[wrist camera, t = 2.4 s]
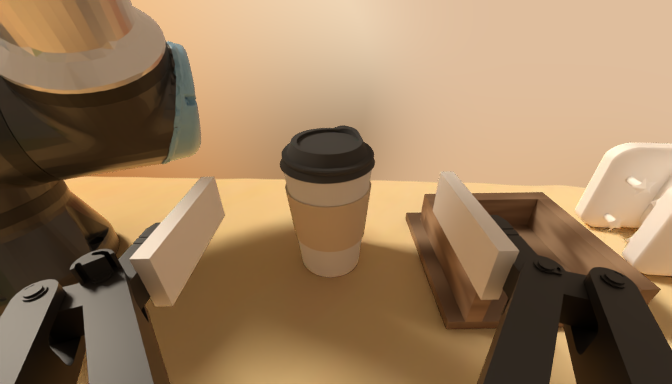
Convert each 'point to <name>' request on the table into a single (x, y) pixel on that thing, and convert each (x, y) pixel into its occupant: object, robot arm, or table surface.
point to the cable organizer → (635, 202)
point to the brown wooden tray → (540, 234)
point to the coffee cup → (328, 196)
